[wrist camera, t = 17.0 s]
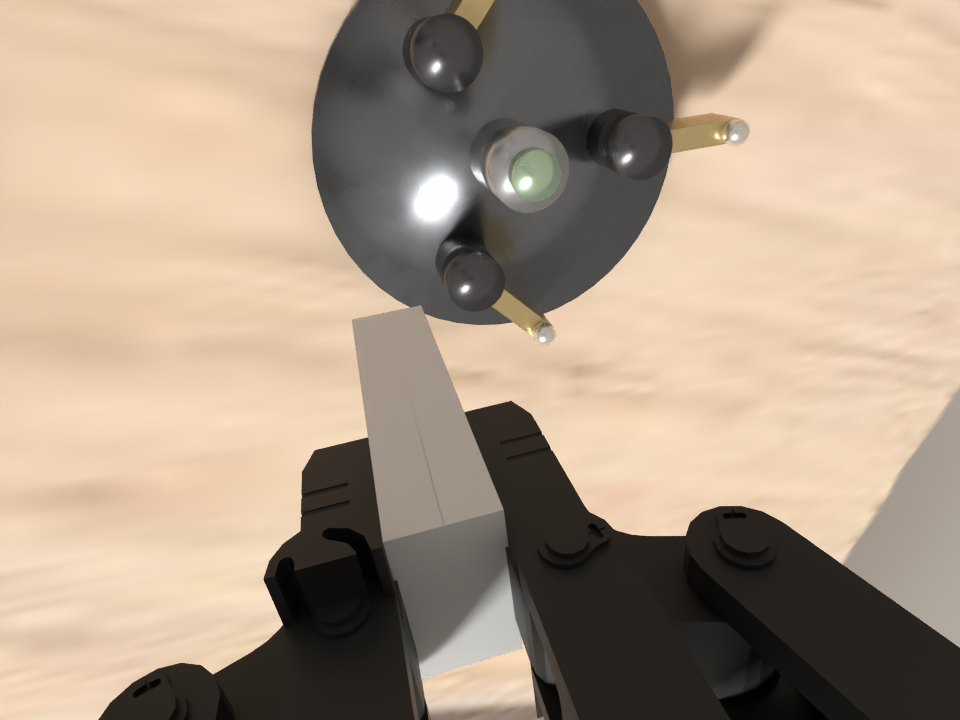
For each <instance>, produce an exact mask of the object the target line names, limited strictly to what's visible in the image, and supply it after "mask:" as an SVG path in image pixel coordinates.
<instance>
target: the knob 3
mask: <svg viewBox="0 0 960 720" xmlns="http://www.w3.org/2000/svg"><path fill="white" fill-rule="evenodd" d="M749 133H750V128H749V125H748V123H747V122H746V121H744V120H742V119H740V118H735V117H729V116H724V115H719V114H713V113H709V114H703V115H697V116H691V117H685V118H678V119H672V120H666V121H662V120H660V119H658V118H656V117H651V116H647V115H643V114H638V113H634V112H630V111H626V110H621V109H610V110H607V111H605V112H603V113H601V114H600V115H599V116H598V117H596V119H595V120H594V121H593V122H592V124H591V126H590V128H589V130H588V133H587V139H586V145H587V150H588V153H589V155H590V157H591V158H592V160H593V161H594V162H595V163H597V164H599V165H601V166H603V167H605V168H607V169H610V170H612V171H614V172H616V173H619V174H621V175H623V176H625V177H628V178H630V179H633V180H637V181H641V180H647V179H650V178H652V177H654V176H655V175H657V174H658V173H659V172H660V171H661V170H662V169H663V168H664V167H665V165H666V164H667V162H668V160H669V158H670V155H671V153H675V152H681V151H687V150H692V149H698V148H704V147H710V146H716V145H721V144H727V145H729V146H738V145H741V144H743V143H744V142H745V141H746V140H747V138H748V136H749Z"/></svg>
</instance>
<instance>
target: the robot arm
mask: <svg viewBox="0 0 960 720" xmlns="http://www.w3.org/2000/svg"><path fill="white" fill-rule="evenodd" d="M352 324H353V331H354V339H355V346H356V353H357V360H358V367H359V375H360V382H361V389H362V396H363V403H364V411H365V418H366V425H367V432H368V438H364V439H360V440H356V441H352V442H347V443H343V444H339V445H335V446H331V447H327V448H323V449H318V450H315V451H314V453H313V454H312V456H311V458H310V459H309V461H308V463H307V465H306V466H305V468H304V470H303V471H302V498H301V514H302V517H301V531H300V532H299V533H297V534H296V535H295V536H293V537H292V538H291V539H289V540H288V541H286V542H285V543H284V544H283V545H282V546H281V547H280V548H279V550H278V551H277V552H276V553H275V555H274V556H273V557H272V558H271V560H270V561H269V564H268V567H267V570H266V573H265V576H264V582H265V584H266V586H267V589H268V591H269V593H270V595H271V598H272V600H273V602H274V604H275V607H276V609H277V611H278V614H279V616H280V618H281V620H282V623H283V626H282V627H281V628H280V629H279V630H278V631H277V632H276V633H275V634H274V635H273V636H272V637H271V638H270V639H269V640H268V641H267V642H266V643H264V644H263V645H261V646H260V647H258V648H257V649H255V650H254V651H253V652H251V653H250V654H248V655H246V656H244V657H243V658H241V659H239V660H237V661H236V662H234V663H232V664H231V665H229V666H227V667H225V668H224V669H222V670H220V671H219V672H217V673H215V674H212V673H210V672H209V671H208V670H206V669H205V668H204V667H203V666H201V665H194V664H186V663H179V664H175V665H171V666H167V667H163V668H159V669H157V670H155V671H153V672H151V673H149V674H148V675H146V676H144V677H142V678H140V679H139V680H137V681H135V682H133V683H132V684H131V685H130V686H129V687H128V688H126V689H125V690H124V691H123V692H122V693H121V694H120V695H119V696H117V697H116V698H115V699H114V700H113V701H112V702H111V703H110V704H109V706H108V707H107V708H106V710H105V711H104V713H103V714H102V715H101V717H100V718H99V720H431V718H430V715H429V711H428V708H427V704H426V701H425V697H424V691H423V685H422V679H424V678H428V677H431V676H434V675H437V674H441V673H444V672H447V671H450V670H454V669H457V668H460V667H463V666H467V665H470V664H473V663H476V662H480V661H483V660H486V659H489V658H493V657H496V656H499V655H503V654H506V653H509V652H512V651H516V650H519V649H522V642H521V637H522V640H523V643H524V645H525V648H526V651H527V654H528V657H529V660H530V663H531V671H532V679H533V686H534V694H535V702H536V710H537V718H540V717H543V716H544V719H545V720H960V648H959V647H958V646H956V645H955V644H953V643H952V642H951V641H949V640H948V639H947V638H945V637H944V636H942V635H941V634H939V633H938V632H937V631H935V630H934V629H932V628H931V627H930V626H928V625H927V624H925V623H924V622H923V621H921V620H920V619H918V618H917V617H916V616H914V615H913V614H911V613H910V612H908V611H907V610H905V609H904V608H903V607H901V606H900V605H899V604H897V603H896V602H894V601H893V600H892V599H890V598H889V597H887V596H886V595H885V594H883V593H882V592H880V591H879V590H877V589H876V588H875V587H873V586H872V585H870V584H869V583H868V582H866V581H865V580H863V579H862V578H861V577H859V576H858V575H856V574H855V573H854V572H852V571H851V570H849V569H848V568H846V567H845V566H844V565H842V564H841V563H839V562H838V561H837V560H835V559H834V558H832V557H831V556H830V555H828V554H827V553H825V552H824V551H823V550H821V549H820V548H818V547H817V546H815V545H814V544H813V543H811V542H810V541H808V540H807V539H806V538H804V537H803V536H801V535H800V534H799V533H797V532H796V531H794V530H793V529H791V528H790V527H789V526H787V525H786V524H784V523H783V522H781V521H780V520H778V519H776V518H774V517H772V516H770V515H768V514H766V513H764V512H762V511H758V510H754V509H750V508H746V507H742V506H719V507H716V508H713V509H710V510H707V511H704V512H702V513H700V514H699V515H698V516H697V517H696V518H695V519H694V520H692V521H691V522H690V525H689V528H688V531H687V534H686V536H639V535H630V534H627V533H623V532H619V531H616V530H614V529H613V528H612V527H611V526H610V525H609V524H608V523H607V522H606V521H605V520H604V519H602V518H600V517H598V516H596V515H594V514H592V513H590V512H589V511H588V510H587V509H586V507H585V506H584V504H583V503H582V501H581V499H580V497H579V496H578V494H577V492H576V490H575V489H574V487H573V485H572V484H571V482H570V480H569V478H568V477H567V475H566V473H565V471H564V470H563V468H562V466H561V465H560V463H559V461H558V459H557V458H556V456H555V454H554V453H553V451H551V449H550V446H549V444H548V442H547V440H546V439H545V437H544V435H542V432H541V430H540V428H539V427H538V425H537V423H536V422H535V420H534V418H533V416H532V415H531V413H529V412H527V411H526V410H524V409H523V408H521V407H520V406H518V405H516V404H515V403H513V402H512V401H509V402H505V403H501V404H497V405H492V406H488V407H484V408H480V409H476V410H472V411H468V412H464V411H463V408H462V406H461V403H460V401H459V398H458V396H457V393H456V391H455V388H454V386H453V383H452V381H451V378H450V376H449V373H448V371H447V369H446V366H445V364H444V361H443V359H442V356H441V354H440V351H439V349H438V346H437V344H436V341H435V339H434V336H433V334H432V331H431V329H430V327H429V324H428V322H427V319H426V317H425V314H424V312H423V309H422V307H421V305H420V306H415V307H411V308H406V309H401V310H396V311H392V312H387V313H382V314H377V315H373V316H368V317H363V318H358V319H354V320H352Z"/></svg>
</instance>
